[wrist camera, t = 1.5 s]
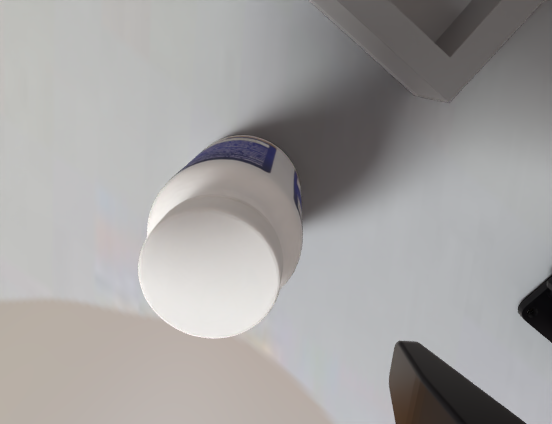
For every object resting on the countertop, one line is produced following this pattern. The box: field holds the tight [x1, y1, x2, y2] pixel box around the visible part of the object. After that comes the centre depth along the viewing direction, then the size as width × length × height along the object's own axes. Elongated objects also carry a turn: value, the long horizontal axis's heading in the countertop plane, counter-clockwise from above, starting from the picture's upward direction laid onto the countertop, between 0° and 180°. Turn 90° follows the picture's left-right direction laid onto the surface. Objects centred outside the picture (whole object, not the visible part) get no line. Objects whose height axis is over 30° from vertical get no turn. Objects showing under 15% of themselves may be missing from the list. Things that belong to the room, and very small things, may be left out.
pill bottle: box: [138, 135, 303, 338], centre depth 16 cm, size 5×5×9 cm
